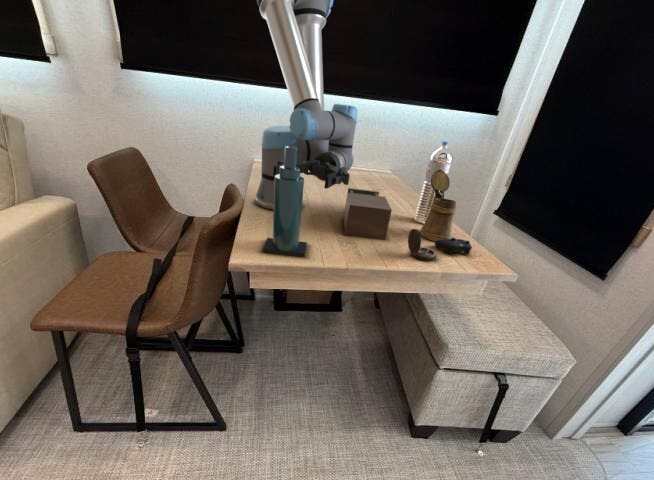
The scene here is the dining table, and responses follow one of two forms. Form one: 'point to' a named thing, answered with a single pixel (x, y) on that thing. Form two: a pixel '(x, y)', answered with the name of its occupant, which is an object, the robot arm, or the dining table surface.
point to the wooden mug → (439, 210)
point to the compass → (419, 246)
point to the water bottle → (436, 162)
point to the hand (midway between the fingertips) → (300, 177)
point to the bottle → (287, 203)
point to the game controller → (454, 245)
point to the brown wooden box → (366, 216)
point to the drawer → (362, 192)
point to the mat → (298, 252)
